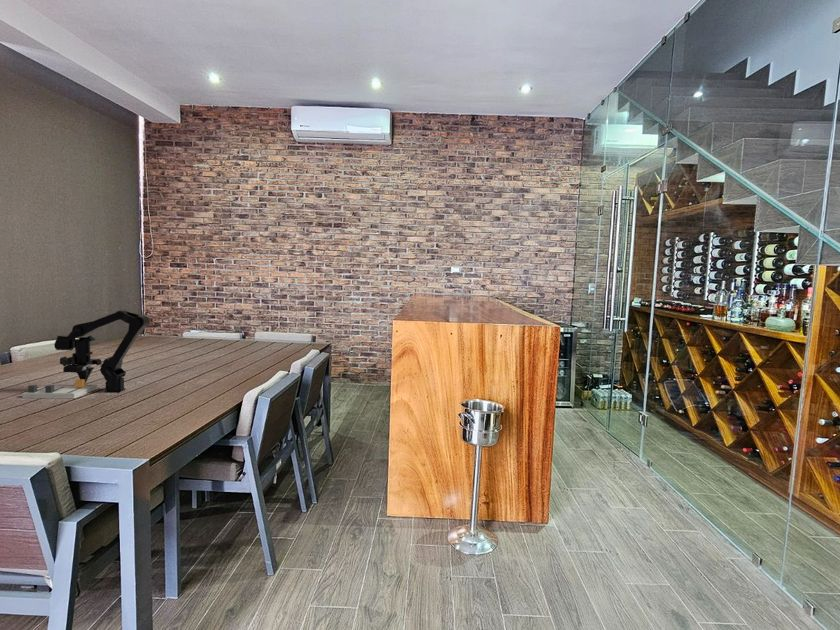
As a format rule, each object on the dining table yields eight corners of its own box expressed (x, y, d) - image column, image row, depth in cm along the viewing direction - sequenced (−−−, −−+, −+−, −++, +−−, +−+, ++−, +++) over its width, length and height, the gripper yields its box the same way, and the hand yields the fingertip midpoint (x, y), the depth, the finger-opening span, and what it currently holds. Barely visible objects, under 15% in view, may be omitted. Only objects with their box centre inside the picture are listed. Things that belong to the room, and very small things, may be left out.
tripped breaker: (85, 386, 212) (84, 379, 212) (82, 387, 210) (82, 380, 210) (78, 386, 212) (77, 378, 212) (75, 387, 210) (75, 380, 210)
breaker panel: (97, 388, 218) (97, 378, 218) (74, 398, 202) (74, 387, 201) (49, 388, 216) (49, 377, 216) (22, 397, 199) (22, 386, 199)
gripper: (77, 346, 221) (78, 378, 222) (49, 353, 202) (51, 388, 204) (101, 347, 222) (102, 378, 223) (76, 354, 203) (77, 388, 205)
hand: (83, 383), depth 214 cm, fingers closed
